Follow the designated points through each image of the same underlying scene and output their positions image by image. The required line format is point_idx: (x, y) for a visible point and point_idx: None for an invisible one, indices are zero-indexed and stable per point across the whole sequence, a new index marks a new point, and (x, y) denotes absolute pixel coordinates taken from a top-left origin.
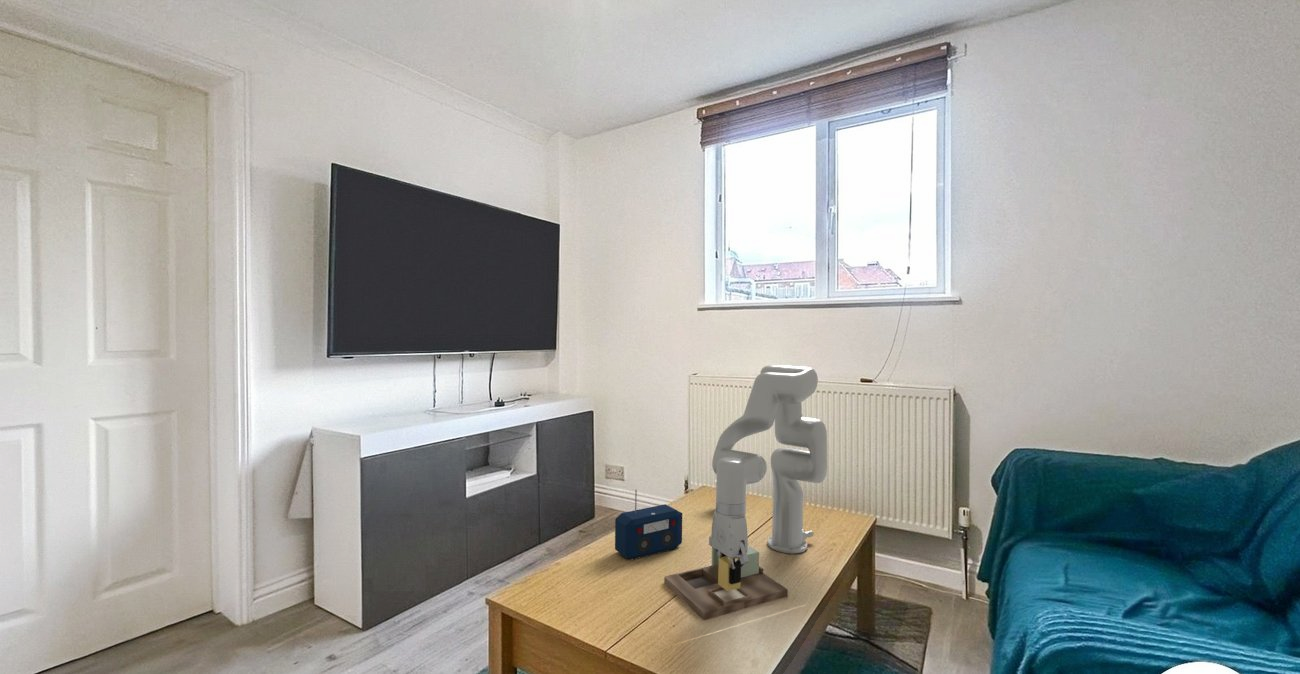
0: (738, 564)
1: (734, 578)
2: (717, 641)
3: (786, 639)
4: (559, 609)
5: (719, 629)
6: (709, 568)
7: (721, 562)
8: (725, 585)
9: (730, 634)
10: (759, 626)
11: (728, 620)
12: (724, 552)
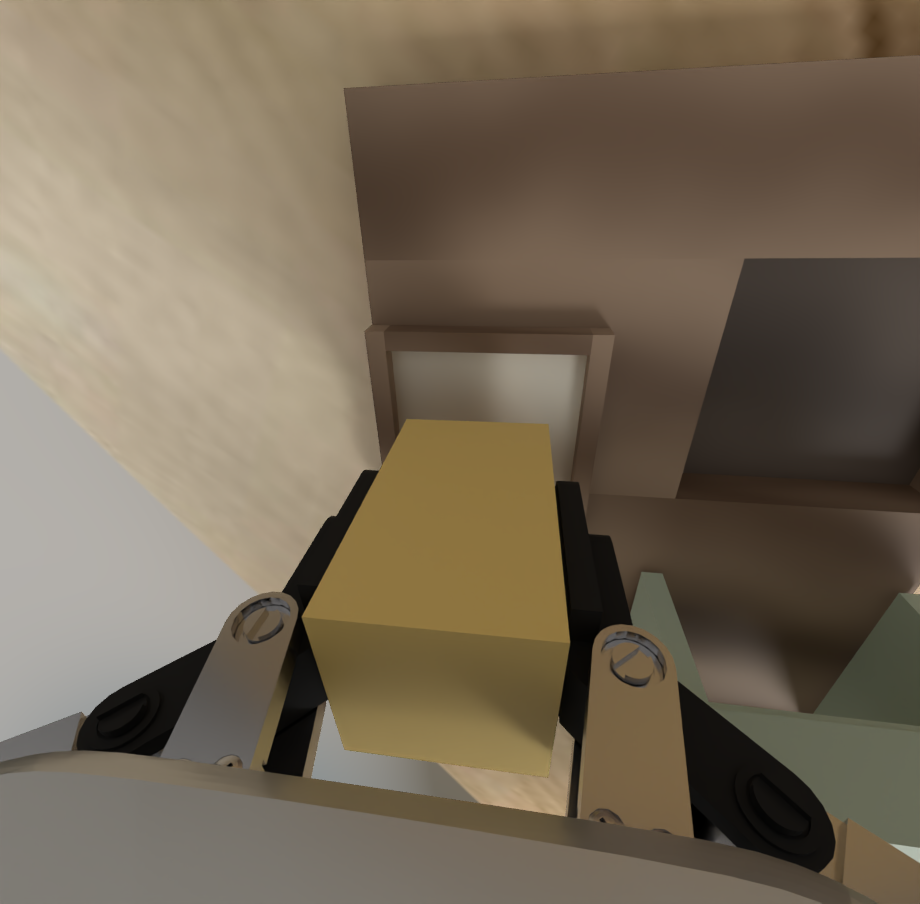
0: (123, 694)
1: (325, 529)
2: (97, 47)
3: (119, 456)
4: None
5: (240, 166)
6: (899, 555)
7: (482, 596)
8: (427, 438)
9: (175, 209)
10: (234, 420)
11: (327, 299)
12: (165, 849)
